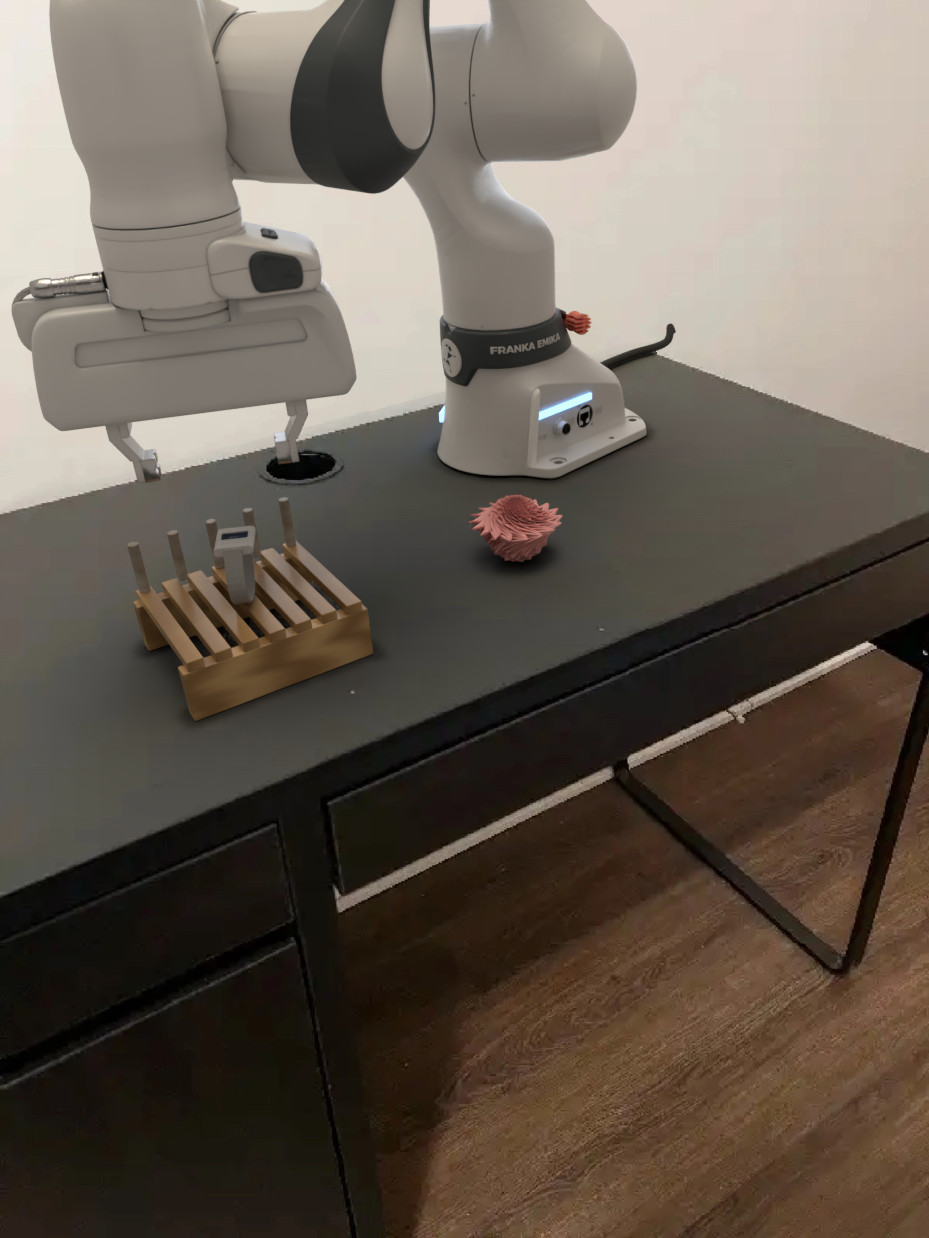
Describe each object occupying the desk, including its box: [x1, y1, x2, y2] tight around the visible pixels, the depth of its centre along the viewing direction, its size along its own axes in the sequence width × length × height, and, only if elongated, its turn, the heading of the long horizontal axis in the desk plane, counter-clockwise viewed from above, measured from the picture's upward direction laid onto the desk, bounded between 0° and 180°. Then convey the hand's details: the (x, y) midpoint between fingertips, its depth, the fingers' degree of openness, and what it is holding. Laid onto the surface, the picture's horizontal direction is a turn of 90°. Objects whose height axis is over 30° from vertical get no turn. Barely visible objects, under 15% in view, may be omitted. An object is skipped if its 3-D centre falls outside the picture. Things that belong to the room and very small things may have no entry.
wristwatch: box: [214, 525, 257, 604], centre depth 75 cm, size 6×3×5 cm, turn 7°
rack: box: [126, 496, 374, 722], centre depth 76 cm, size 14×12×9 cm
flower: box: [467, 494, 564, 563], centre depth 87 cm, size 8×8×6 cm
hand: (220, 469), depth 71 cm, fingers open, 8 cm apart
